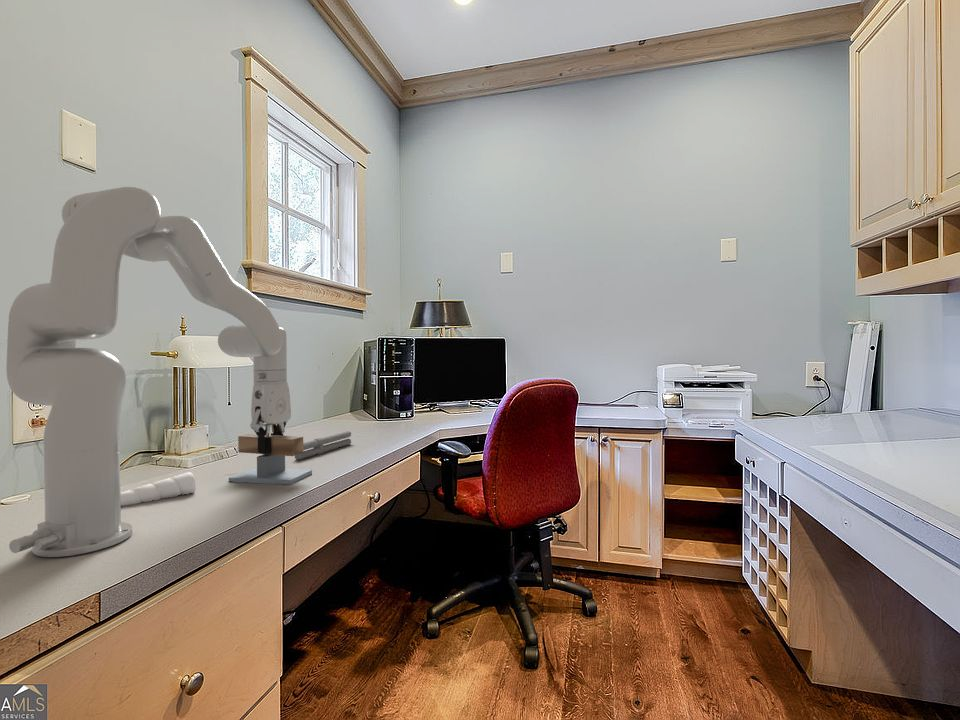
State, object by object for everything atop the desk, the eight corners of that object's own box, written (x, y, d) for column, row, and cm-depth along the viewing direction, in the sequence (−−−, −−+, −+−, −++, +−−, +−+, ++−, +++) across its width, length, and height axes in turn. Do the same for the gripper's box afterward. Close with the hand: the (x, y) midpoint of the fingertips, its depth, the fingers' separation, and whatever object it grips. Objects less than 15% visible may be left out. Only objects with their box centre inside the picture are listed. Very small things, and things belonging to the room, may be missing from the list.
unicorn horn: (51, 514, 93) (50, 489, 93) (191, 490, 109) (191, 469, 109) (51, 520, 89) (51, 495, 89) (196, 495, 105) (196, 473, 105)
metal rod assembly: (345, 445, 163) (345, 430, 162) (352, 445, 162) (352, 430, 162) (292, 461, 138) (292, 443, 138) (300, 461, 137) (300, 444, 137)
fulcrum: (290, 484, 113) (289, 458, 112) (228, 481, 115) (228, 456, 115) (312, 473, 122) (311, 450, 122) (254, 471, 125) (254, 448, 125)
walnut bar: (292, 456, 114) (292, 439, 114) (238, 452, 119) (238, 436, 119) (303, 452, 118) (303, 436, 118) (250, 449, 123) (250, 433, 123)
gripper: (263, 379, 109) (263, 459, 110) (302, 375, 126) (303, 445, 126) (233, 378, 111) (234, 458, 111) (276, 375, 127) (277, 444, 128)
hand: (270, 450), depth 119 cm, fingers closed on walnut bar, 4 cm apart
